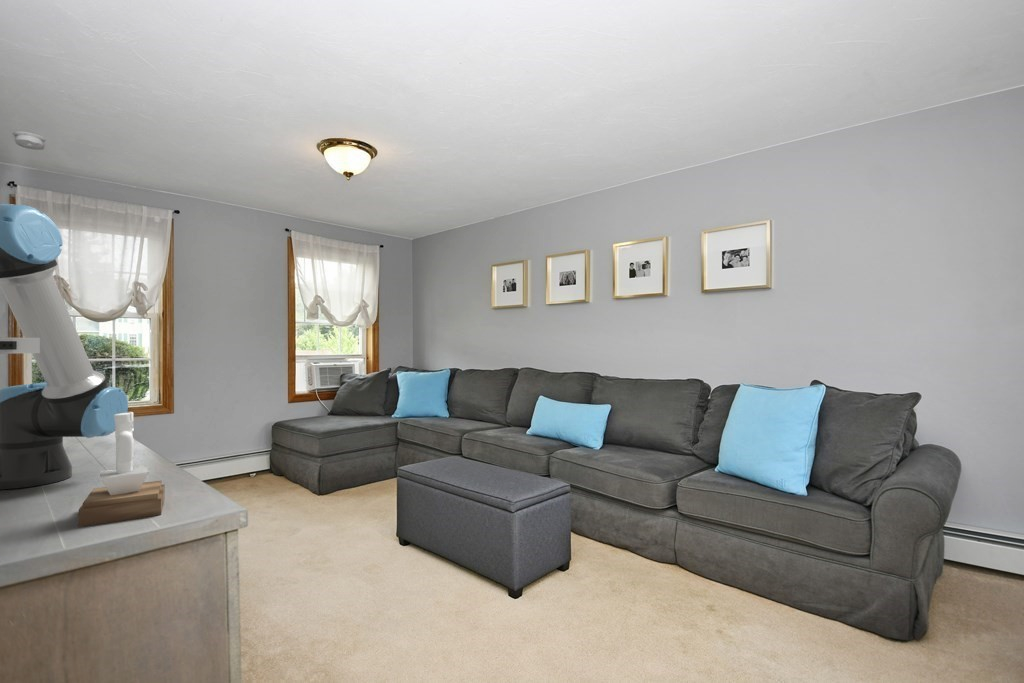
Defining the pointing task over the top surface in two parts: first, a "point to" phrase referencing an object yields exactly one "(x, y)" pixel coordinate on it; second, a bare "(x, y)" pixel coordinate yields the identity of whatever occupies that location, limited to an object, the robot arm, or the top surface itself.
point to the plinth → (122, 504)
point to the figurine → (124, 460)
